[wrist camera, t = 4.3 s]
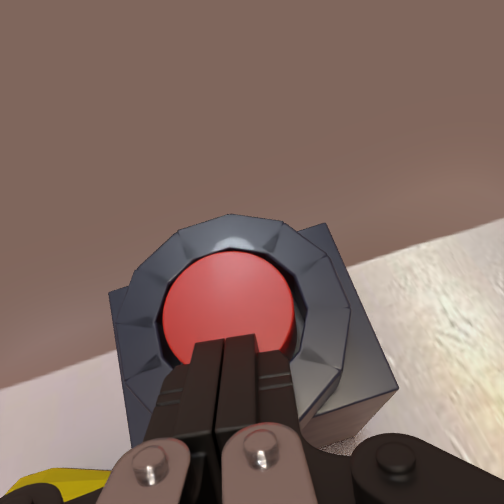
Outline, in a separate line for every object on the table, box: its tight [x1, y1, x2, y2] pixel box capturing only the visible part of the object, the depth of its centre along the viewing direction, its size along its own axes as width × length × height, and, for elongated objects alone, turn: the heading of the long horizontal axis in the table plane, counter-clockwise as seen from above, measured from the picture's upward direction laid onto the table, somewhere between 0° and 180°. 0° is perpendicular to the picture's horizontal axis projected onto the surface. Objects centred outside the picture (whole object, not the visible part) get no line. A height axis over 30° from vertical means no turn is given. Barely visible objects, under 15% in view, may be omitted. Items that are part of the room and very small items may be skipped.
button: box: [163, 251, 297, 364], centre depth 13 cm, size 4×4×2 cm
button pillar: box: [108, 214, 399, 449], centre depth 20 cm, size 8×6×18 cm
